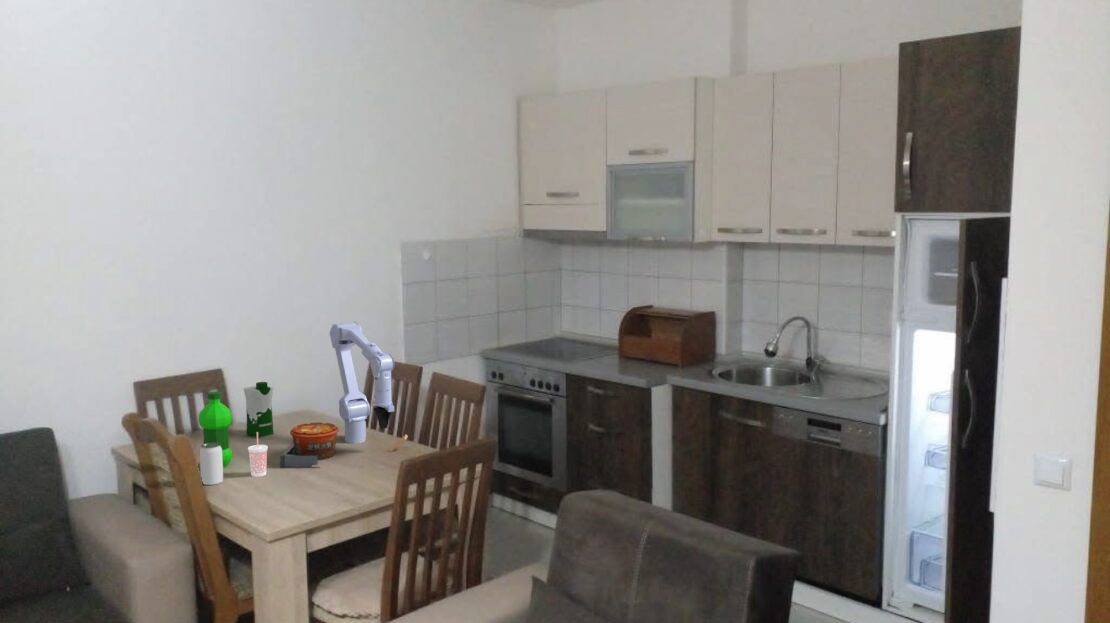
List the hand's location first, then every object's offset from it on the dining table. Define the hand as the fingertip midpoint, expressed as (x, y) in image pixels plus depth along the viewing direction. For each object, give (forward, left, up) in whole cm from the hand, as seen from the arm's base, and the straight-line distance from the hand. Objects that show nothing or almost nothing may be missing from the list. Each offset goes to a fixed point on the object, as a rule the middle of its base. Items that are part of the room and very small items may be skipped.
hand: (383, 428), depth 303 cm
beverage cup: (+22, -37, -10) cm, 44 cm away
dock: (+4, -26, -10) cm, 28 cm away
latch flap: (-3, +5, -7) cm, 9 cm away
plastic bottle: (+14, -53, -10) cm, 55 cm away
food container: (+4, -23, -10) cm, 25 cm away
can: (+30, -49, -10) cm, 58 cm away
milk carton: (-26, -51, -10) cm, 58 cm away
